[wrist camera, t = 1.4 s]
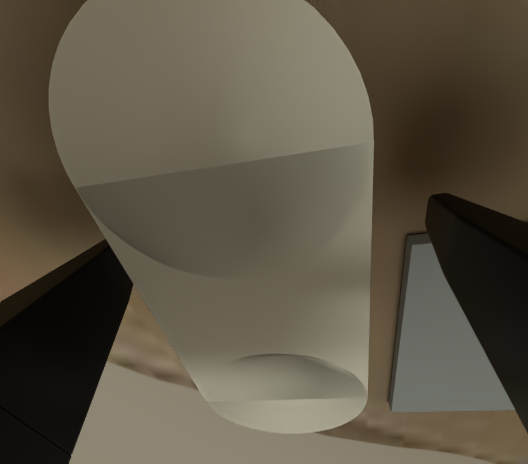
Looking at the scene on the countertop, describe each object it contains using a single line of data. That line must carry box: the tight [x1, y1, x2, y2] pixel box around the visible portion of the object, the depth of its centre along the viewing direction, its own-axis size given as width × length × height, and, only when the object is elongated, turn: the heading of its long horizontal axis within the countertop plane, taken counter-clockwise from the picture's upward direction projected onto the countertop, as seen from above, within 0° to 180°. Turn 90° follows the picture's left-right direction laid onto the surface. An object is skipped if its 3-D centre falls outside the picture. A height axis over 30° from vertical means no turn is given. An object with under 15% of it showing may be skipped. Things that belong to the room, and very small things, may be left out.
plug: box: [49, 0, 374, 434], centre depth 9 cm, size 4×14×6 cm, turn 10°
